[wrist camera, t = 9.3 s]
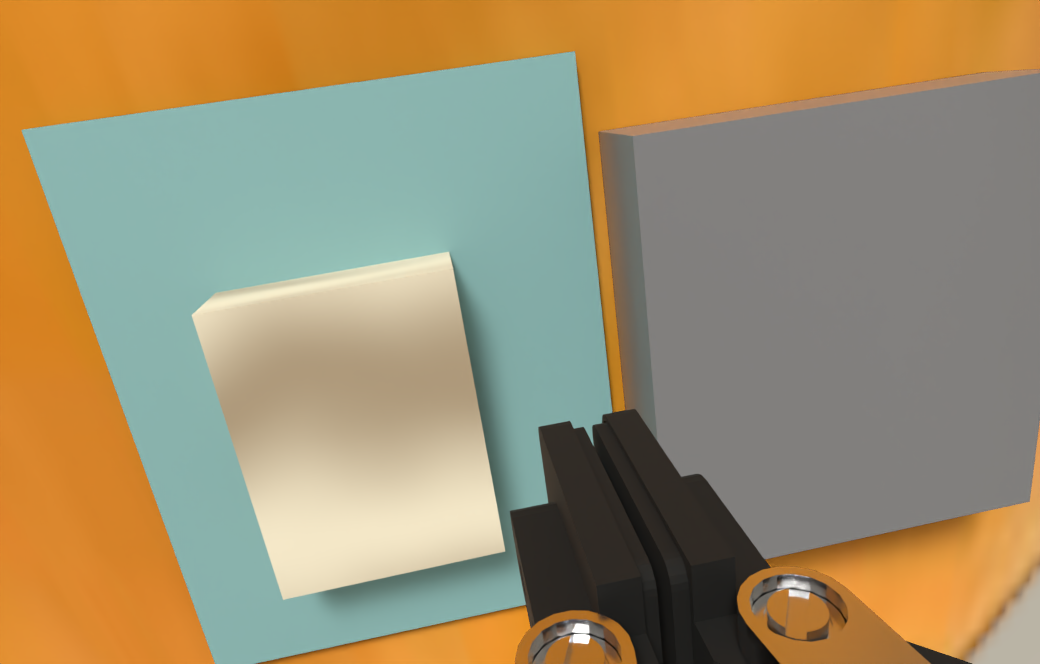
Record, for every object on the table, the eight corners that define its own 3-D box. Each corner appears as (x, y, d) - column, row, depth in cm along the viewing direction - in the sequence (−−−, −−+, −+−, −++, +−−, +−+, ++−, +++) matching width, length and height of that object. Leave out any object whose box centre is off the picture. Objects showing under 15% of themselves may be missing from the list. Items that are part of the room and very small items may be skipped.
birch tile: (453, 268, 16) (448, 251, 18) (191, 315, 16) (215, 292, 17) (505, 551, 19) (497, 511, 21) (283, 599, 18) (295, 553, 20)
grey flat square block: (598, 131, 18) (632, 135, 15) (984, 72, 19) (1083, 66, 16) (636, 519, 22) (668, 580, 19) (953, 453, 23) (1030, 501, 20)
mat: (30, 129, 16) (21, 129, 16) (571, 52, 17) (574, 51, 17) (221, 661, 21) (217, 671, 21) (626, 573, 23) (629, 581, 22)
